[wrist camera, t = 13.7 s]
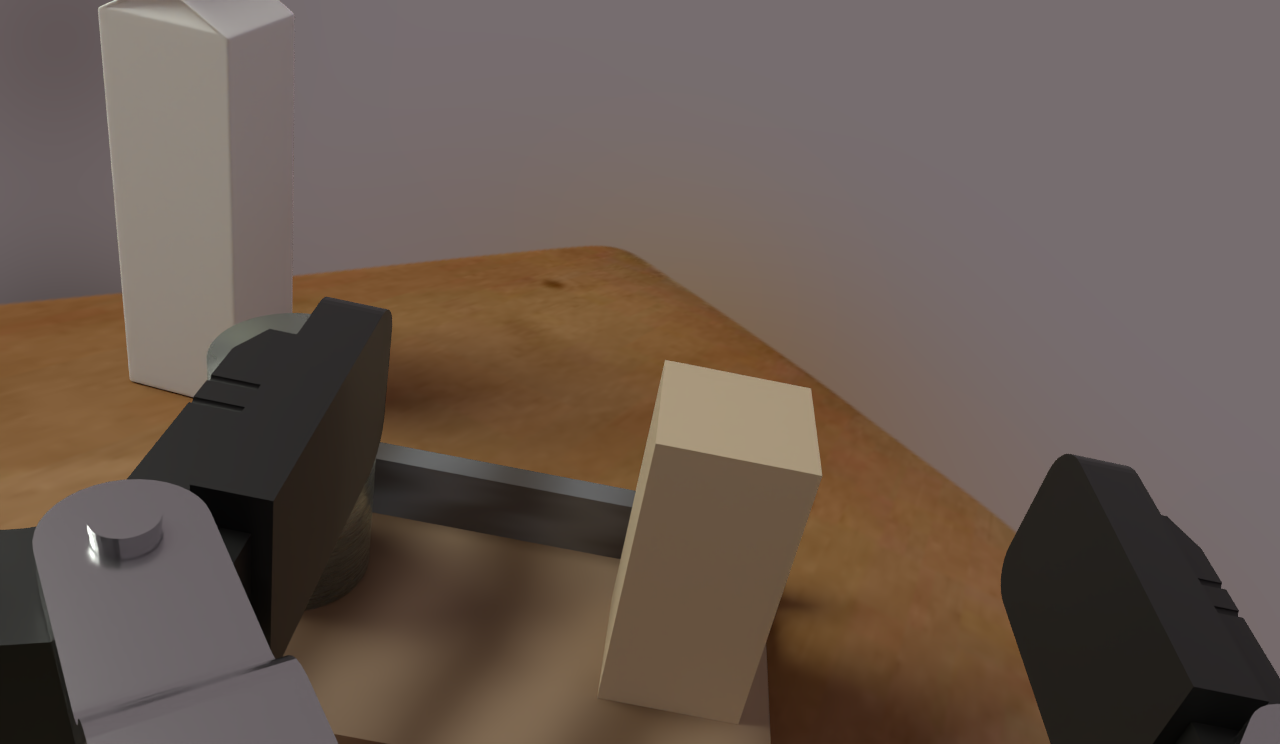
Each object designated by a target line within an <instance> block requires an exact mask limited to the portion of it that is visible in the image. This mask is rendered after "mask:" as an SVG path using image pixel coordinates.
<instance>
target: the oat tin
mask: <svg viewBox="0 0 1280 744" xmlns="http://www.w3.org/2000/svg"><path fill="white" fill-rule="evenodd" d="M310 315H311V314H303V313H282V314H272V315H265V316H260V317H256V318H252V319H249V320H246V321H243V322H240V323H238V324H235V325H234V326H232V327H230V328H228V329H226V330H225V331H224V332H222V333H221V334H220V335H219V336H218V337H216V338H215V340H214V341H213V342H212V344H211V345H210V347H209V349H208V352H207V379H208V380H210V379H211V374H212V373H213V372H214V370H215V369H216V368H217V367H218V365H219V364H220V363H221V362H222V360H223V359H224V358H225V357H226V356H227V354H228V353H229V352H230V351H231V349H232V348H233V347H235V346H237V345H239V344H241V343H243V342H245V341H247V340H249V339H251V338H253V337H255V336H257V335H258V334H260V333H262V332H264V331H266V330H268V329H273V330H278V331H283V332H288V333H292V334H297V333H298V332H299V331H300V329H301V328H302V326H303V325H304V324H305V322H306V321H307V319H308V318H309V317H310ZM375 463H376V458H375V461H374V464H373V467H372V470H371V472H370V474H369V476H368V478H367V481H366V483H365V485H364V487H363V489H362V491H361V493H360V495H359V497H358V499H357V502H356V504H355V506H354V508H353V510H352V512H351V514H350V516H349V518H348V520H347V522H346V525H345V527H344V529H343V531H342V533H341V535H340V537H339V539H338V541H337V543H336V546H335V548H334V550H333V552H332V554H331V556H330V558H329V560H328V562H327V564H326V567H325V569H324V571H323V573H322V575H321V577H320V579H319V581H318V583H317V585H316V588H315V590H314V592H313V594H312V596H311V598H310V600H309V602H308V604H307V606H306V609H305V611H306V610H311V609H315V608H319V607H322V606H325V605H328V604H330V603H332V602H334V601H336V600H338V599H340V598H342V597H343V596H345V595H346V594H347V593H349V592H350V591H351V590H352V589H353V588H354V587H356V586H357V584H358V583H359V582H360V581H361V579H362V578H363V576H364V574H365V572H366V570H367V567H368V563H369V554H370V538H371V523H372V508H373V493H374V478H375Z"/></svg>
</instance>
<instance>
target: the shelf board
mask: <svg viewBox="0 0 1280 744" xmlns="http://www.w3.org/2000/svg"><path fill="white" fill-rule="evenodd" d="M635 493H636V491H633V490H628V489H622V488H617V487H612V486H607V485H602V484H596V483H591V482H586V481H581V480H575V479H570V478H565V477H560V476H554V475H549V474H544V473H539V472H533V471H528V470H523V469H518V468H512V467H507V466H502V465H497V464H491V463H486V462H481V461H476V460H470V459H465V458H460V457H455V456H449V455H444V454H439V453H434V452H429V451H423V450H418V449H413V448H408V447H402V446H397V445H392V444H387V443H381V442H380V444H379V448H378V452H377V455H376V463H375V478H374V493H373V508H372V523H371V538H370V554H369V563H368V567H367V570H366V572H365V574H364V576H363V578H362V579H361V581H360V582H359V583H358V584H357V586H356V587H354V588H353V589H352V590H351V591H350V592H349V593H347V594H346V595H345V596H343V597H342V598H340V599H338V600H336V601H334V602H332V603H330V604H328V605H325V606H322V607H319V608H315V609H311V610H306V611H304V613H303V615H302V617H301V619H300V621H299V623H298V625H297V627H296V630H295V632H294V634H293V636H292V638H291V640H290V642H289V644H288V646H287V648H286V650H285V653H284V655H283V657H284V656H287V655H292V656H294V657H295V658H296V659H297V660H298V661H299V663H300V664H301V666H302V667H303V669H304V670H305V672H306V674H307V676H308V678H309V680H310V683H311V685H312V687H313V689H314V691H315V694H316V696H317V698H318V700H319V702H320V705H321V707H322V709H323V711H324V713H325V716H326V718H327V720H328V722H329V724H330V726H331V729H332V731H333V733H334V735H335V737H336V740H337V742H338V744H771V737H770V715H769V693H768V671H767V649H766V644H765V647H764V650H763V653H762V655H761V658H760V661H759V664H758V667H757V670H756V673H755V676H754V679H753V682H752V685H751V688H750V691H749V694H748V697H747V700H746V703H745V706H744V709H743V712H742V715H741V718H740V721H739V724H733V723H728V722H723V721H717V720H712V719H707V718H702V717H696V716H691V715H686V714H680V713H675V712H670V711H664V710H659V709H654V708H649V707H643V706H638V705H633V704H627V703H622V702H617V701H611V700H606V699H601V698H597V696H598V689H599V682H600V675H601V668H602V662H603V655H604V648H605V641H606V634H607V627H608V621H609V614H610V607H611V600H612V595H613V591H614V586H615V582H616V577H617V573H618V568H619V564H620V559H621V555H622V550H623V546H624V542H625V537H626V533H627V528H628V524H629V519H630V515H631V510H632V506H633V501H634V497H635Z"/></svg>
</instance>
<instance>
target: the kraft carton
mask: <svg viewBox="0 0 1280 744" xmlns="http://www.w3.org/2000/svg"><path fill="white" fill-rule="evenodd" d="M821 478H822V471H821V463H820V455H819V448H818V440H817V432H816V424H815V417H814V409H813V401H812V393H811V389H810V388H805V387H800V386H795V385H790V384H785V383H780V382H775V381H770V380H765V379H760V378H754V377H749V376H744V375H739V374H734V373H729V372H724V371H719V370H714V369H709V368H704V367H699V366H694V365H688V364H683V363H678V362H673V361H668V360H665V363H664V368H663V372H662V377H661V381H660V385H659V390H658V394H657V399H656V403H655V408H654V412H653V417H652V421H651V426H650V430H649V435H648V439H647V443H646V448H645V452H644V457H643V461H642V466H641V470H640V475H639V479H638V484H637V488H636V493H635V497H634V501H633V506H632V510H631V515H630V519H629V524H628V528H627V533H626V537H625V542H624V546H623V550H622V555H621V559H620V564H619V568H618V573H617V577H616V582H615V586H614V591H613V595H612V600H611V607H610V614H609V621H608V627H607V634H606V641H605V648H604V655H603V662H602V668H601V675H600V682H599V689H598V696H597V698H601V699H606V700H611V701H617V702H622V703H627V704H633V705H638V706H643V707H649V708H654V709H659V710H664V711H670V712H675V713H680V714H686V715H691V716H696V717H702V718H707V719H712V720H717V721H723V722H728V723H733V724H739V721H740V718H741V715H742V712H743V709H744V706H745V703H746V700H747V697H748V694H749V691H750V688H751V685H752V682H753V679H754V676H755V673H756V670H757V667H758V664H759V661H760V658H761V655H762V653H763V650H764V647H765V644H766V641H767V638H768V635H769V632H770V629H771V626H772V623H773V620H774V617H775V614H776V611H777V608H778V605H779V602H780V599H781V596H782V593H783V590H784V587H785V584H786V581H787V578H788V576H789V573H790V570H791V567H792V564H793V561H794V558H795V555H796V552H797V549H798V546H799V543H800V540H801V537H802V534H803V531H804V528H805V525H806V522H807V519H808V516H809V513H810V510H811V507H812V504H813V501H814V499H815V496H816V493H817V490H818V487H819V484H820V481H821Z"/></svg>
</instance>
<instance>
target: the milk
mask: <svg viewBox="0 0 1280 744" xmlns="http://www.w3.org/2000/svg"><path fill="white" fill-rule="evenodd" d="M98 15H99V27H100V39H101V51H102V62H103V74H104V85H105V97H106V108H107V120H108V132H109V143H110V155H111V166H112V178H113V188H114V189H113V190H114V200H115V213H116V224H117V236H118V247H119V259H120V271H121V282H122V294H123V306H124V317H125V329H126V340H127V352H128V364H129V375H130V380H131V381H133V382H137V383H140V384H144V385H148V386H152V387H156V388H159V389H163V390H167V391H171V392H175V393H178V394H182V395H186V396H190V397H194V395H195V394H196V393H197V392H198V390H199V389H200V388H201V387H202V385H203V384H204V383H205V382H206V380H208V379H207V352H208V349H209V347H210V345H211V344H212V342H213V341H214V340H215V338H216V337H218V336H219V335H220V334H221V333H222V332H224V331H225V330H226V329H228V328H230V327H232V326H234V325H235V324H238V323H240V322H243V321H246V320H249V319H252V318H256V317H260V316H265V315H272V314H282V313H292V268H293V267H292V266H293V148H294V142H293V141H294V28H295V24H294V23H295V20H294V18H295V17H294V14H293V12H292V11H291V10H289V9H288V8H287V7H286V6H285V5H284V4H283V3H282V2H280V1H279V0H114V1H112V2H109V3H107V4H105V5H103V6H101V7H99V8H98Z"/></svg>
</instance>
